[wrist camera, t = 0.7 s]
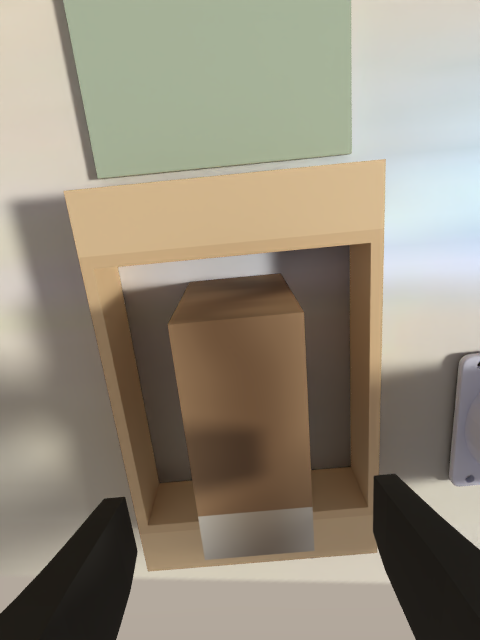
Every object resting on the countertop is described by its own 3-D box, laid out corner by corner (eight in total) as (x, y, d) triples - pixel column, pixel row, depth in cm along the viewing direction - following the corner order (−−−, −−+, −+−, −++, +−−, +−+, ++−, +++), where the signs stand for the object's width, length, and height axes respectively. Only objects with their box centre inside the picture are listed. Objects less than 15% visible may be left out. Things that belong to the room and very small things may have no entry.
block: (280, 273, 18) (304, 312, 12) (291, 449, 22) (314, 551, 15) (189, 282, 19) (167, 324, 12) (213, 455, 22) (205, 559, 15)
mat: (346, -185, 14) (350, -195, 13) (348, 154, 17) (351, 153, 16) (37, -149, 14) (32, -159, 13) (100, 178, 17) (97, 178, 17)
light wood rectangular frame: (360, 165, 17) (385, 159, 14) (359, 508, 23) (377, 552, 20) (92, 191, 17) (63, 190, 14) (158, 524, 23) (148, 571, 20)
